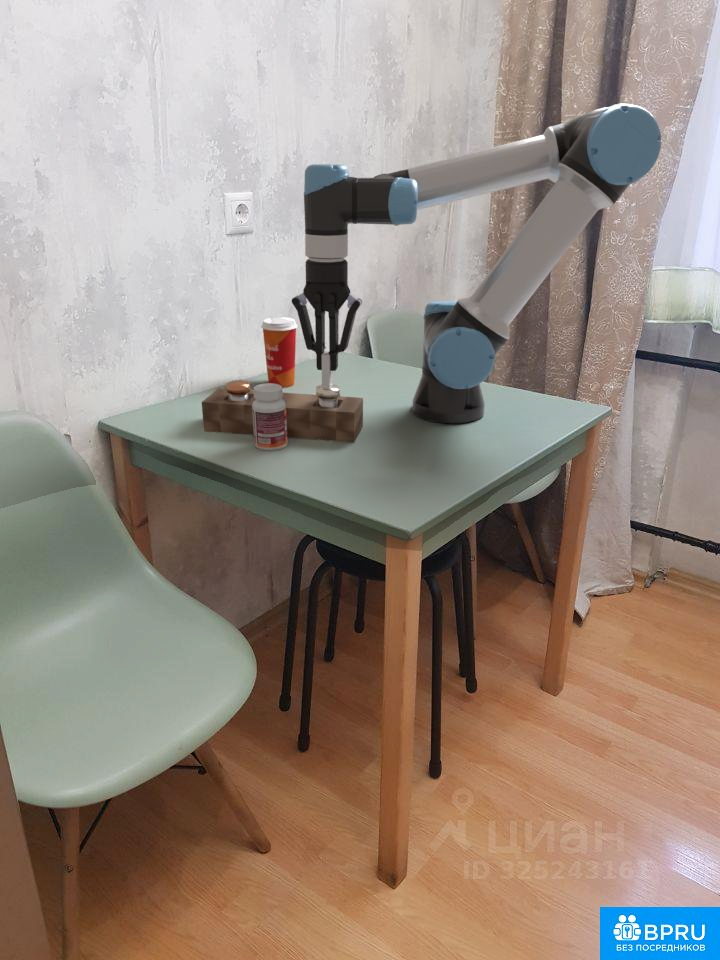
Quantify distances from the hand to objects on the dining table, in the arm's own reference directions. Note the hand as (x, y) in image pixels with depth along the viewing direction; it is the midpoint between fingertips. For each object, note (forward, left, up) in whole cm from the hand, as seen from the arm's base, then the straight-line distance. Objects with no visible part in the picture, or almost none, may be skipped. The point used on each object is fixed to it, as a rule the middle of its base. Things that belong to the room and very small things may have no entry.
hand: (327, 386), depth 141 cm
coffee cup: (+18, -29, -10) cm, 35 cm away
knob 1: (+18, 0, -8) cm, 19 cm away
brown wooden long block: (+9, 0, -9) cm, 13 cm away
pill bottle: (+9, +9, -10) cm, 16 cm away
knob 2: (0, 0, -7) cm, 7 cm away
